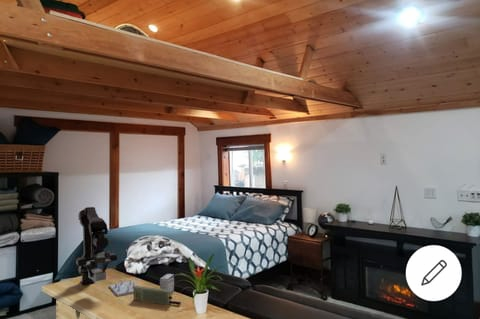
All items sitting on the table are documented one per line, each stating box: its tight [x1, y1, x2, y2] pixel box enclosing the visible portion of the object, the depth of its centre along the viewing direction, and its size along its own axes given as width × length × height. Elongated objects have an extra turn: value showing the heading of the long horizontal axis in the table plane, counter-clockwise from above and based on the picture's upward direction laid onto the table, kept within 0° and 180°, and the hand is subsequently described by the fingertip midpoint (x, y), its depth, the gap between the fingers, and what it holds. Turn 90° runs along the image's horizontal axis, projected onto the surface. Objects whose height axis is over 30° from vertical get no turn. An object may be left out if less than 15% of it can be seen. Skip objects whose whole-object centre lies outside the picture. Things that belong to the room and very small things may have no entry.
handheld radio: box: [133, 285, 182, 306], centre depth 166 cm, size 7×3×25 cm
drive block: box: [88, 268, 107, 282], centre depth 175 cm, size 9×5×4 cm, turn 46°
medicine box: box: [159, 273, 175, 294], centre depth 178 cm, size 8×4×9 cm, turn 169°
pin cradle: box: [108, 278, 138, 297], centre depth 183 cm, size 16×12×4 cm
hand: (97, 276), depth 175 cm, fingers closed on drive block, 5 cm apart
